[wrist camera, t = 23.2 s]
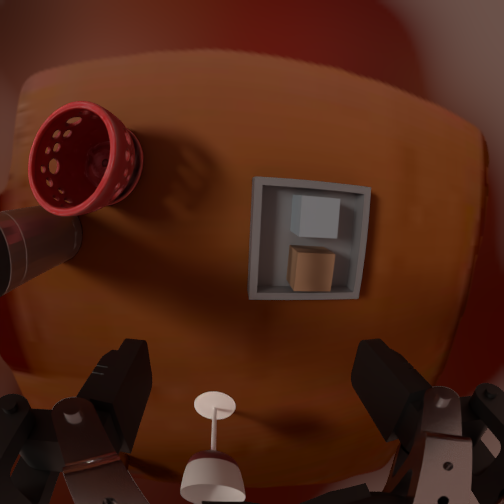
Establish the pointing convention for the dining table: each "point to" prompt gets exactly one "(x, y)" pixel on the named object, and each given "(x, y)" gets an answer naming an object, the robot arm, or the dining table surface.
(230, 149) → the dining table surface
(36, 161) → the plant pot
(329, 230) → the slate block
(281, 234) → the tray
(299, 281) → the walnut block
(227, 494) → the wineglass
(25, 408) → the robot arm
